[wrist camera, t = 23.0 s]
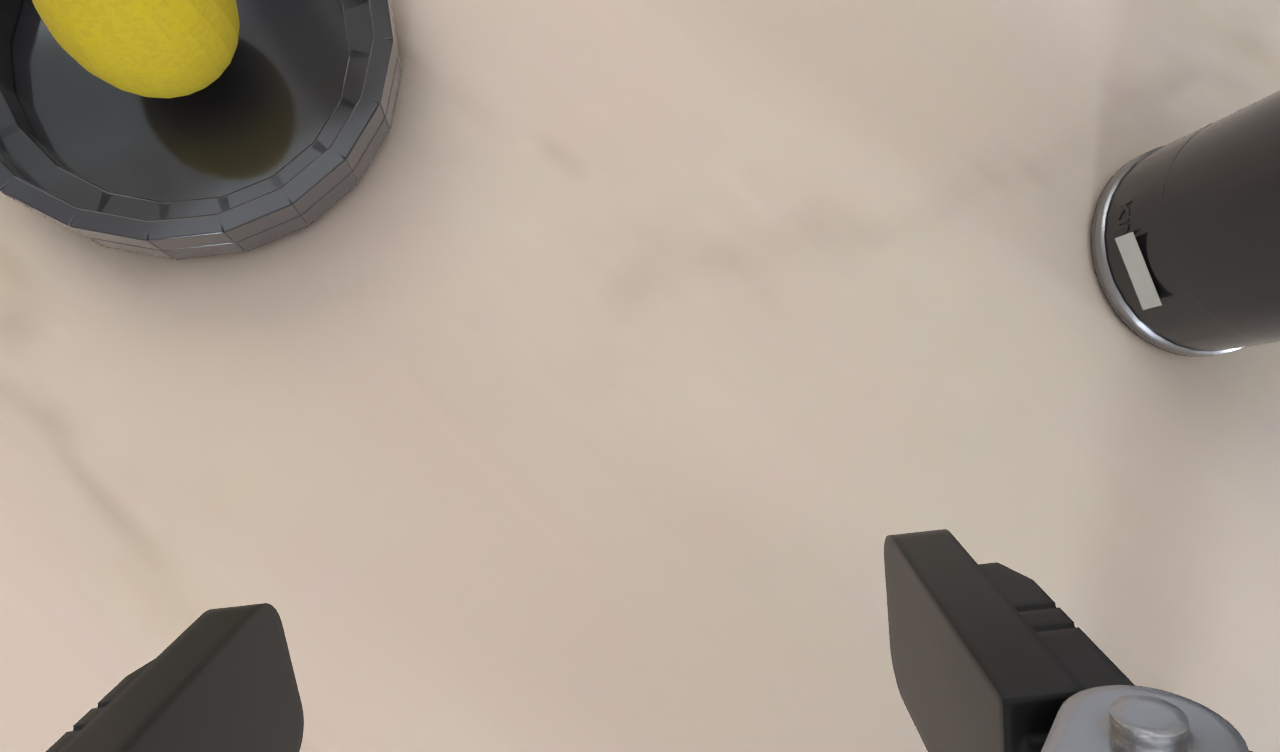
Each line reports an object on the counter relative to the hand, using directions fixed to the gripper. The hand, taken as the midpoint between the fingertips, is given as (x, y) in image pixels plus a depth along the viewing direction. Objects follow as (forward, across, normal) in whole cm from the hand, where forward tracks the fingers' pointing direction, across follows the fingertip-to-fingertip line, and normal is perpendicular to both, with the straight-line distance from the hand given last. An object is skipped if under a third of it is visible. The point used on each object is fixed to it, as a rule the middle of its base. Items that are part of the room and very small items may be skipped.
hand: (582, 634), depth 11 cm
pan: (+23, +15, -12) cm, 30 cm away
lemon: (+22, +15, -12) cm, 30 cm away
